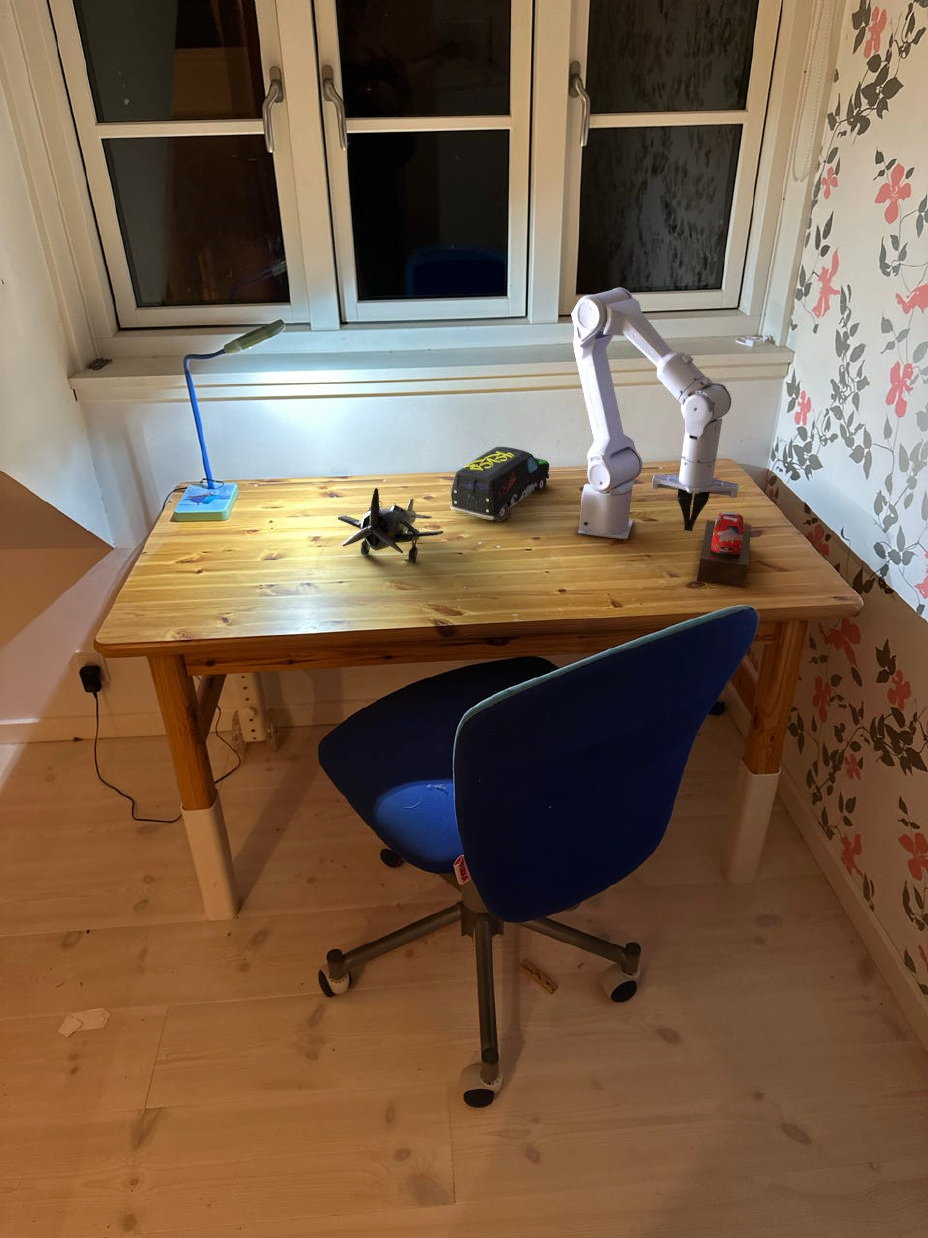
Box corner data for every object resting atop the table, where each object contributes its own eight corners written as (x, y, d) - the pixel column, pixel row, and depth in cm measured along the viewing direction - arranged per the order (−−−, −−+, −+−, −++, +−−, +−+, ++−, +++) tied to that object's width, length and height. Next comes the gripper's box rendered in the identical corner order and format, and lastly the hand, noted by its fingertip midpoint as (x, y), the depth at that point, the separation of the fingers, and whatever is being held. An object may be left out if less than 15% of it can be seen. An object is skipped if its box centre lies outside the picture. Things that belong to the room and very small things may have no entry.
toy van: (551, 485, 183) (553, 441, 177) (493, 528, 165) (493, 481, 160) (509, 475, 187) (509, 432, 182) (448, 516, 170) (447, 470, 165)
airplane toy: (323, 566, 153) (314, 489, 144) (368, 522, 168) (363, 450, 160) (424, 584, 147) (421, 504, 139) (462, 537, 162) (461, 463, 154)
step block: (696, 581, 147) (700, 558, 144) (703, 541, 159) (706, 519, 157) (743, 587, 145) (748, 564, 142) (747, 546, 157) (751, 525, 155)
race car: (740, 560, 144) (744, 540, 141) (707, 556, 145) (711, 535, 143) (745, 527, 154) (749, 508, 152) (715, 523, 156) (718, 504, 153)
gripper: (653, 460, 142) (644, 532, 149) (741, 470, 138) (729, 543, 145) (658, 446, 148) (650, 516, 155) (743, 455, 144) (731, 526, 151)
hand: (688, 528), depth 151 cm, fingers closed
